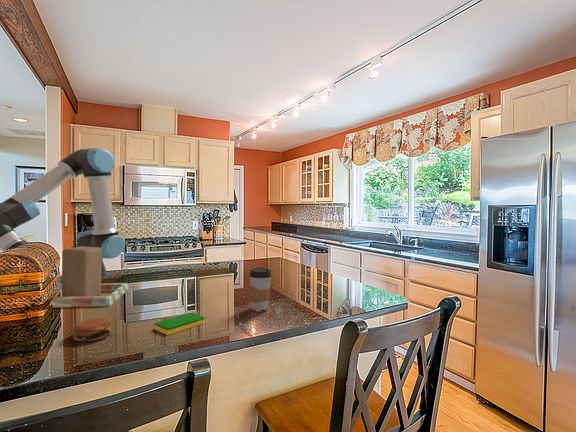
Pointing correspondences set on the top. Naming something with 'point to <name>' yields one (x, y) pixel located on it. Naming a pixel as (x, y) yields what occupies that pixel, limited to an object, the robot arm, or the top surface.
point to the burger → (92, 330)
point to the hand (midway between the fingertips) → (61, 288)
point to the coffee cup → (259, 288)
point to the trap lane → (93, 297)
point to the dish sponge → (179, 323)
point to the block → (81, 271)
